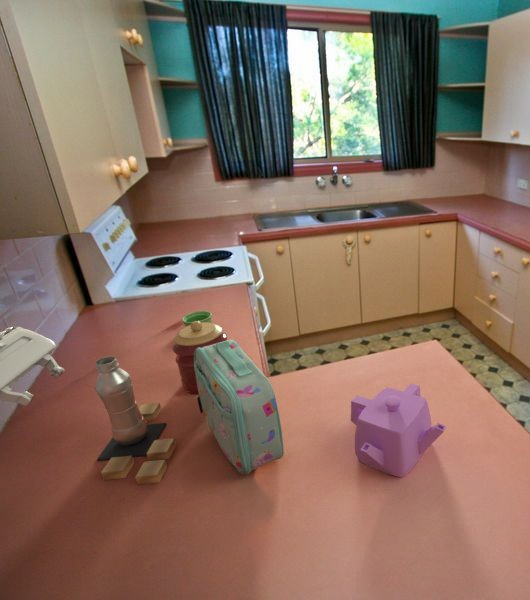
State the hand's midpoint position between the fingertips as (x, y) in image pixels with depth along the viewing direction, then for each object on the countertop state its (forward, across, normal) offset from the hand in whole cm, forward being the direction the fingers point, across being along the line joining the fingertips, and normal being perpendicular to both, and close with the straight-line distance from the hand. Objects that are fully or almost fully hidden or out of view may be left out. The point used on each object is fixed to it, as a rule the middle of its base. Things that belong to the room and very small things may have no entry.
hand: (46, 387), depth 85 cm
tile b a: (+21, +8, -2) cm, 22 cm away
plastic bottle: (+20, -1, -2) cm, 20 cm away
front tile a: (+26, +10, +4) cm, 28 cm away
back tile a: (+20, -9, -3) cm, 22 cm away
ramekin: (+18, -55, -4) cm, 58 cm away
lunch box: (+37, +2, +15) cm, 40 cm away
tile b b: (+25, +4, +3) cm, 26 cm away
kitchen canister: (+27, -22, +5) cm, 35 cm away
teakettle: (+60, +10, +38) cm, 71 cm away
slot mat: (+20, 0, -2) cm, 20 cm away
